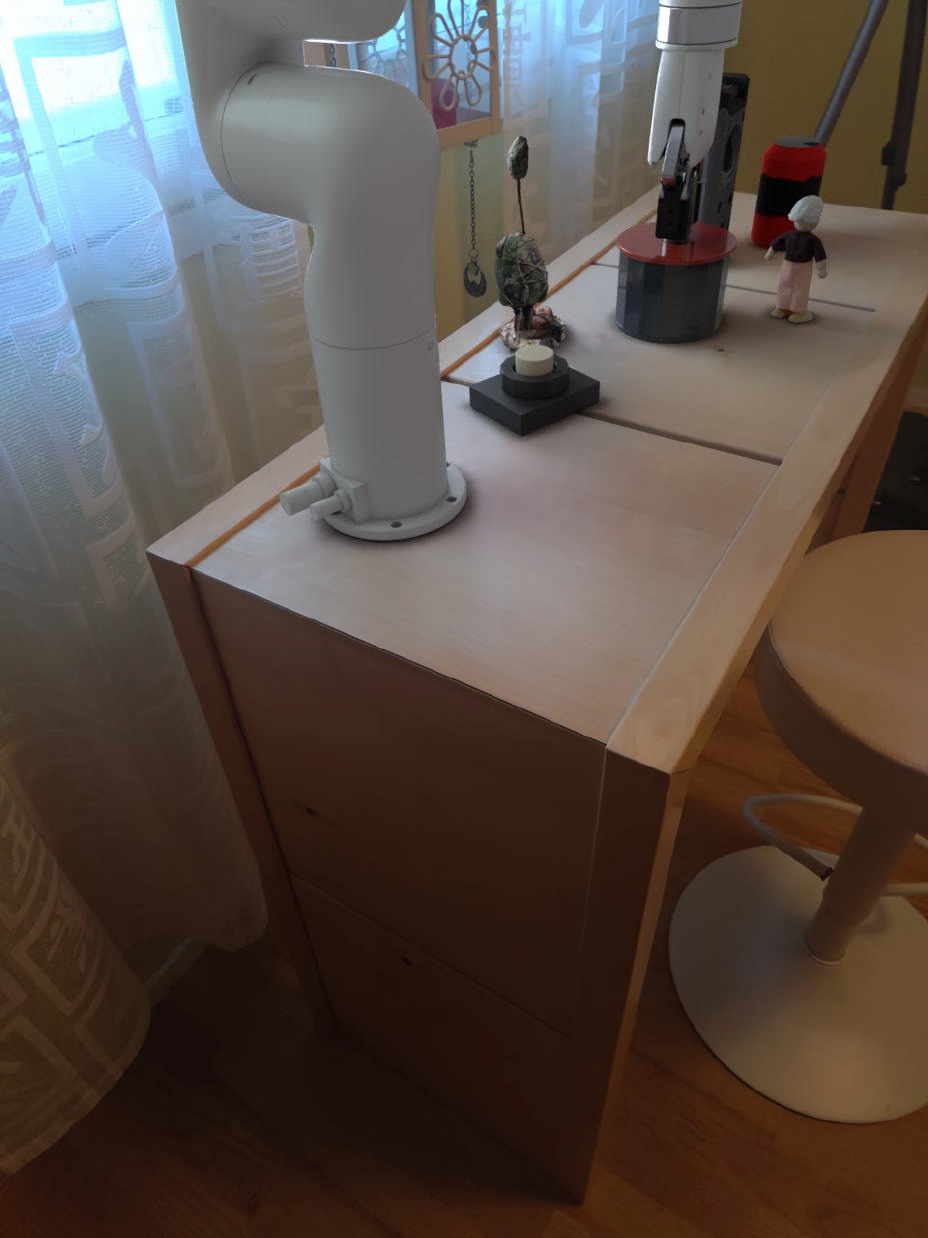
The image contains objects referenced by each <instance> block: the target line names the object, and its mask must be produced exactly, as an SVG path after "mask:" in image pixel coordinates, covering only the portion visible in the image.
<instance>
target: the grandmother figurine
mask: <svg viewBox="0 0 928 1238" xmlns="http://www.w3.org/2000/svg"><path fill="white" fill-rule="evenodd" d="M824 203H825V202H824V201H823V199H822V198H821V197H820V196H819V197H817V196H815V195H811V196H807V197H804V198H802V199H801V200H799V201H798V202H797V203H796V204H795V206H794V207H793V208H792V210H791V212H790V214H788V216H789V219H790V220H791V221H793V222H794V225H795V227H796V229H797V230H791V231H788V232H785V233H783V234H781V235H780V236H778V237H777V238H776V239H774V240H773V241H772V242H771V247H770V248H769V249H768V251H767V252H766V254H765V255H764V259H765V260H766V261H767V262H772V261H773V260H774V259H775V257H776V255H778V253H784V252H785V254H784V257H783V260H782V261H783V262H782V266H781V269H780V273H779V278H778V283H777V293H776V299H775V307H776V308H775V309H774V310H773V311H772V312H771V316H772V317H774V318H778V319H782V318H786V317H788V316H789V317H788V318H787V319H788V321H789V322H790V323H791V322H792V323H794V324H799V323H805V322H810V321H813V313H812V312H811V311H810V310H809V309H808V306H809V298H810V289H811V283H812V278H813V271H814V270H813V269H814V267H813V266H814V265H813V264H814V263H815V266H816V267H815V268H816V270H817V274H816V277H817V278H818V279H820V280H822V279H825V278H827V277H828V275H829V274H828V273H829V272H828V270H827V266H828V263H827V258H828V256H827V253H826V250H825V247H824V243H823V241H822V239H821V238H820V237H819V236H817V235H816V234H815V233H813V230H815V229H816V228H817V227H818V225H819V223H820V219H821V216H822V213H823V212H824V205H825V204H824ZM810 231H811V232H810Z"/></svg>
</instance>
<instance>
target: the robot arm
mask: <svg viewBox="0 0 928 1238" xmlns="http://www.w3.org/2000/svg"><path fill="white" fill-rule="evenodd" d="M407 2H408V0H174V3H175V9H176V15H177V20H178V24H179V25H178V26H179V32H180V33H179V34H180V38H181V44H182V50H183V56H184V61H185V68H186V73H187V79H188V84H189V90H190V96H191V102H192V108H193V114H194V118H195V124H196V128H197V129H196V130H197V134H198V138H199V142H200V146H201V149H202V152H203V155H204V158H205V161H206V163H207V165H208V168H209V170H210V172H211V174H212V177H214V180H215V181H216V182H217V184H218V185H219V186H220V188H221V189H222V191H224V192H225V193H226V194H227V195H228V196H229V197H230V198H231V199H232V200H234V201H235V202H237V203H239V204H240V205H242V206H244V207H246V208H248V209H251V210H254V211H257V212H260V213H262V214H263V213H264V214H268V215H270V216H275V217H278V218H283V219H287V220H290V221H295V222H298V223H301V224H303V225H306V226H310V227H311V228H312V230H313V234H314V235H313V236H314V237H313V238H314V239H313V245H312V249H311V250H312V251H311V254H310V257H309V261H308V264H307V267H306V272H305V275H304V282H303V294H302V295H303V307H304V314H305V320H306V326H307V331H308V336H309V343H310V348H311V355H312V359H313V360H312V361H313V366H314V373H315V379H316V384H317V390H318V396H319V401H320V407H321V413H322V418H323V419H322V420H323V425H324V430H325V431H324V432H325V436H326V443H327V449H328V454H329V456H327V457H324V458H321V459H320V460H318V465H319V470H320V473H318V474H316V475H313V476H312V478H311V481H310V482H308V483H306V484H303V485H299V486H296V487H294V488H291V489H289V490H286V491H284V492H281V493H280V494H279V502H280V505H281V507H282V509H283V511H284V513H285V514H286V515H287V516H290V517H291V516H294V515H296V514H298V513H300V512H303V511H305V510H308V509H309V513H310V514H311V517H312V518H313V519H314V521H317V522H318V521H320V520H323V519H324V520H325V521H326V523H327V524H329V525H330V526H331V527H332V528H333V529H335V530H336V531H339V532H340V533H343V534H346V535H348V536H351V537H353V538H358V539H362V540H368V541H369V540H370V541H387V542H388V541H397V540H407V539H411V538H416V537H419V536H422V535H425V534H428V533H429V534H430V533H431V532H433V531H435V530H437V529H440V528H442V527H443V526H445V525H446V524H448V523H449V522H451V521H452V520H453V519H454V518H455V517H456V516H457V515H459V513H461V510H462V509H463V507H464V506H465V504H466V501H467V498H468V492H467V490H468V487H467V480H466V477H465V475H464V473H463V471H462V470H461V469H460V468H459V467H458V466H457V465H456V464H455V463H453V462H451V461H449V460H448V459H447V449H446V437H445V435H446V434H445V422H444V410H443V409H444V408H443V395H442V393H443V392H442V380H441V378H442V377H441V365H440V352H439V351H440V350H439V338H438V337H439V335H438V321H437V311H436V297H435V295H436V294H435V277H434V275H435V273H434V238H435V237H434V236H435V235H434V234H435V223H436V212H437V203H438V196H439V190H440V189H439V187H440V179H441V164H442V163H441V162H442V161H441V159H442V158H441V157H442V152H441V143H440V136H439V133H438V130H437V126H436V123H435V121H434V118H433V116H432V114H431V113H430V111H429V110H428V108H427V107H426V105H425V103H424V102H423V101H422V100H421V99H420V97H419V96H417V94H415V93H414V92H413V91H411V89H409V88H408V87H407V86H405V85H404V84H402V83H400V82H398V81H396V80H394V79H392V78H390V77H386V76H384V75H383V74H379V73H374V72H370V71H367V70H366V71H365V70H359V69H358V70H357V69H350V68H340V67H332V66H325V65H317V64H315V65H307V64H306V58H305V46H304V42H312V43H313V42H315V43H327V44H359V43H360V44H361V43H367V42H371V41H374V40H376V39H379V38H381V37H383V36H385V35H386V34H388V33H389V32H390V31H391V30H392V29H393V28H395V26H396V25H397V24H398V22H399V20H400V18H401V17H402V15H403V12H404V11H405V8H406V5H407ZM743 3H744V0H658V7H657V20H656V21H657V22H656V34H655V47H656V48H657V49H660V50H662V51H661V57H660V61H659V66H658V71H657V72H658V73H657V77H656V78H657V79H656V85H655V93H654V98H653V99H654V100H653V107H652V119H651V125H650V126H651V127H650V132H649V133H650V135H649V141H648V151H647V163H648V164H649V165H650V167H655V166H657V165H658V163H659V162H660V161H661V160H662V159H663V163H662V169H661V179H660V185H659V191H658V192H659V193H658V199H657V209H656V210H657V211H656V221H655V222H656V231H655V236H656V238H658V239H669V240H680V241H683V240H684V239H685V238H686V237H687V230H688V221H689V212H690V203H691V198H688V194H689V187H690V181H691V174H692V171H694V172H697V173H698V182H701V180H702V175H703V163H704V156H705V155H706V153H707V152H708V151H709V149H710V148H711V146H712V143H713V140H714V135H715V130H716V123H717V117H718V109H719V101H720V93H721V84H722V75H723V72H724V64H725V55H726V50H727V49H730V48H733V47H735V46H737V45H738V41H739V32H740V26H741V18H742V11H743ZM683 158H684V159H683ZM682 162H683V164H682ZM678 171H679V172H684V179H682V176H681V175H678ZM682 181H683V183H682ZM701 190H702V183H697V191H696V200H695V208H694V217H693V224H695V223H696V222H697V220H698V215H699V207H700V198H701Z"/></svg>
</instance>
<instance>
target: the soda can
mask: <svg viewBox="0 0 928 1238" xmlns="http://www.w3.org/2000/svg"><path fill="white" fill-rule="evenodd" d="M827 157H828V155H827V152H826V149H825V148H824V146H823V144H822V141H821V140H820V139H819V138H816V137H813V136H812V137H811V136H805V135H804V136H802V135H788V136H782V137H777V138H775V139H774V140H773V142H772V143H771V144H770V145H769V147H767V149H766V150H765V151H764V152H763V157H762V163H761V170H760V176H759V182H758V187H757V188H758V190H757V194H756V202H755V207H754V214H753V219H752V226H751V233H750V239H751V240H752V242H753V243H754V244H755V246H758V247H761V248H765V249H768V250H769V248H770V247H771V242H772V241H773V240H774V239H776V238H777V237H778V236H780V235H781V234H783V233H785V232H788V231H791V230H797V229H796V227H795V225H794V222H793V221H791V220H790V219H789V216H788V214H790V212H791V210H792V208H793V207H794V206H795V204H796V203H797V202H798V201H799V200H801V199H802V198H804V197H807V196H811V195H815V196H817V197H820V196H819V195H820V191H821V186H822V180H823V176H824V172H825V171H824V170H825V166H826V163H827V162H826V161H827ZM810 232H811V233H812V231H810Z"/></svg>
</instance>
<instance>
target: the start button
mask: <svg viewBox="0 0 928 1238" xmlns="http://www.w3.org/2000/svg"><path fill="white" fill-rule="evenodd" d="M554 354H555V353H554V349H553V350H552V349H551V348H549V347H546V346H542V345H528V346H524V347H521V348H520V349H518V350H515V355H516V372H517V373H519V374H521V375H525V376H532V377H533V376H543V375H546V374H549V373H551V372H552V371H553V357H554Z"/></svg>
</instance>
